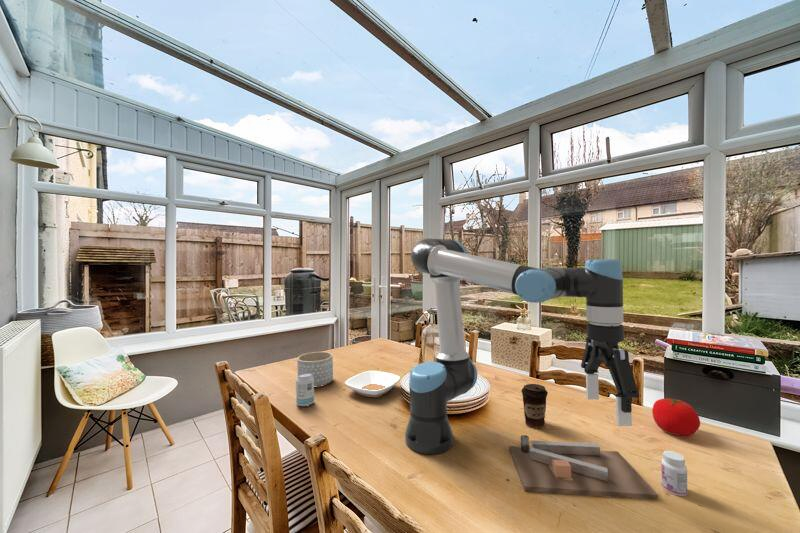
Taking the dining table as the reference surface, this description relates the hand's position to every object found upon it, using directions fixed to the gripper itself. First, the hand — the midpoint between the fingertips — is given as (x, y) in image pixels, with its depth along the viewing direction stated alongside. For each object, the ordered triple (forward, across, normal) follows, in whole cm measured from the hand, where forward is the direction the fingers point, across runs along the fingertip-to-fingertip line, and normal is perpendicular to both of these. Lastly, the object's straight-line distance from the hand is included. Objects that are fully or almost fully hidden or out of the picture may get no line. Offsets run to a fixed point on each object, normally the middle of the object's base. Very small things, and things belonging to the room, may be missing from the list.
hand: (607, 410), depth 76 cm
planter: (+19, +66, +98) cm, 120 cm away
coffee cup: (+20, +32, +7) cm, 38 cm away
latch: (+18, +4, +9) cm, 21 cm away
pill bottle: (+20, +2, -16) cm, 26 cm away
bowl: (+19, +57, +69) cm, 91 cm away
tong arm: (+18, +6, +7) cm, 21 cm away
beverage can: (+19, +43, +94) cm, 105 cm away
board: (+20, +7, +5) cm, 21 cm away
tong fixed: (+18, +14, +6) cm, 24 cm away
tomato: (+20, +30, -36) cm, 51 cm away
